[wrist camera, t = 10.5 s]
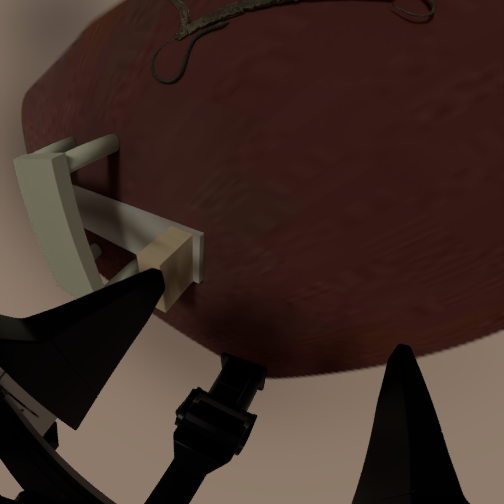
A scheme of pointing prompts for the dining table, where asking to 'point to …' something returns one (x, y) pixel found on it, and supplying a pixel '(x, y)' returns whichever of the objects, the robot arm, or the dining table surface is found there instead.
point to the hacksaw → (221, 24)
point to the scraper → (146, 240)
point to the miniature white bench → (65, 212)
